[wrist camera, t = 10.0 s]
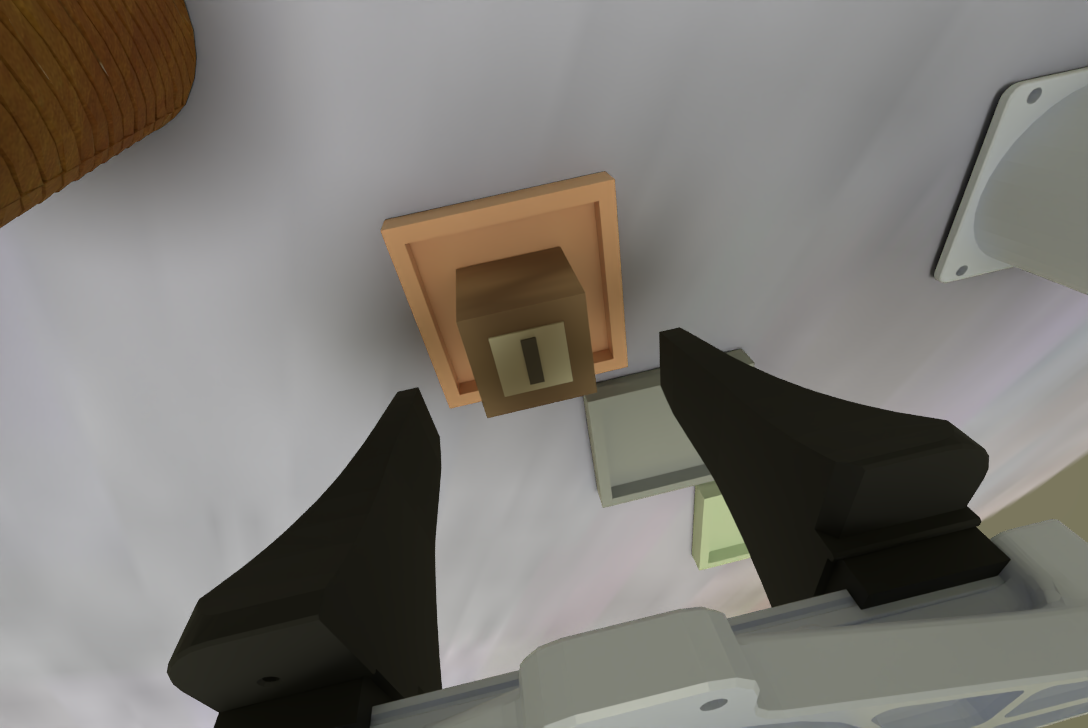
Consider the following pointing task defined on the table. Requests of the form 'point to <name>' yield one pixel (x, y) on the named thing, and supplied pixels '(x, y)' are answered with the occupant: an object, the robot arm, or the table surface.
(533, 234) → the terracotta dish
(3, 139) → the disposable coffee cup
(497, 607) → the table surface
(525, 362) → the letter cube
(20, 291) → the table surface
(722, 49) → the table surface
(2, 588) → the table surface
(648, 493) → the slate dish
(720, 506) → the sage dish
